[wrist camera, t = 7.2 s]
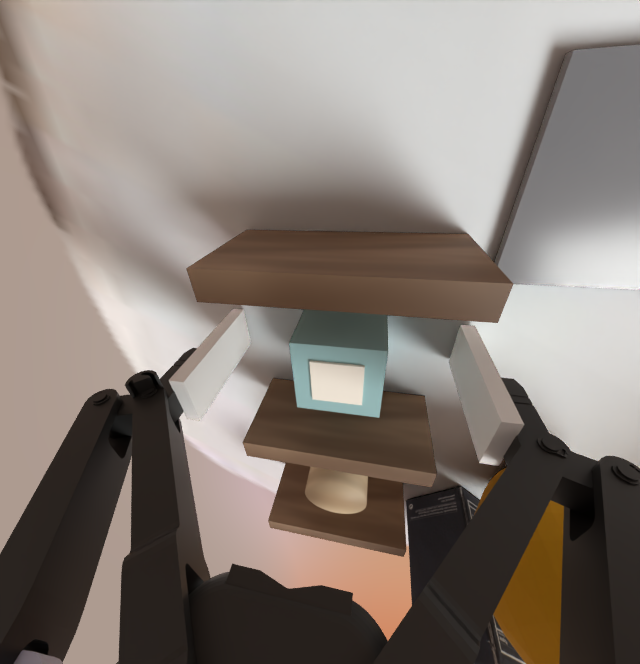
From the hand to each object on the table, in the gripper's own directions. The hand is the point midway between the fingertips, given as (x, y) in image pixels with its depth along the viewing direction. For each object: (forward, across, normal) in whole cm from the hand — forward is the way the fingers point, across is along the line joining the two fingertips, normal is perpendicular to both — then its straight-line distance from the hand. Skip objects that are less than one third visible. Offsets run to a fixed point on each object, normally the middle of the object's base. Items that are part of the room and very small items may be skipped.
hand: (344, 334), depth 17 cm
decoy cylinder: (0, 0, -11) cm, 11 cm away
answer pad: (0, +11, +8) cm, 14 cm away
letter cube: (0, 0, 0) cm, 0 cm away
